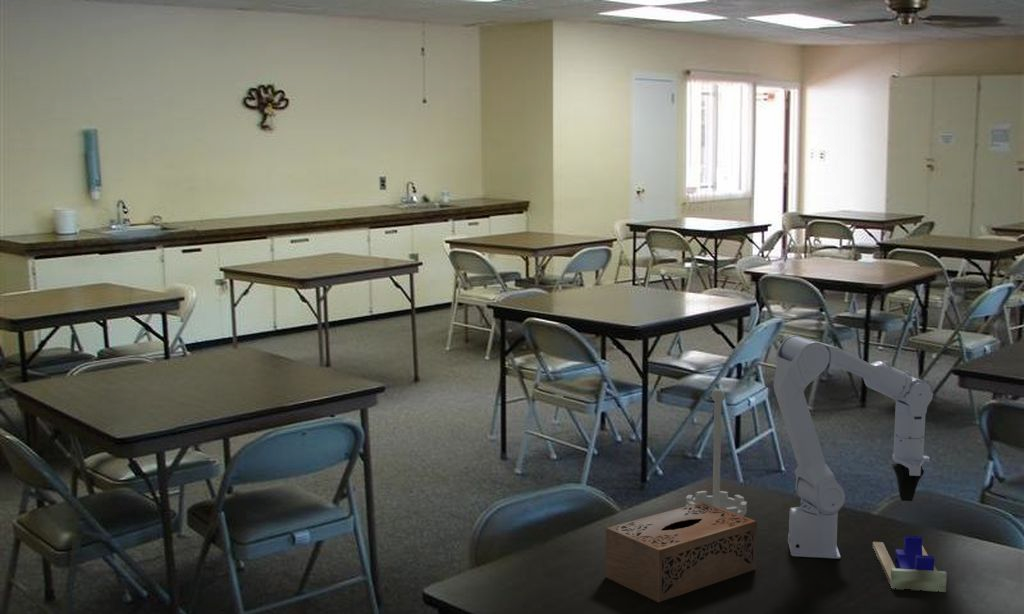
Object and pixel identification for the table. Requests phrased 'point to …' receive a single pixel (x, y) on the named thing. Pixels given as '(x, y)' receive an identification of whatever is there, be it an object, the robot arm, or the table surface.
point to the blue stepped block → (913, 555)
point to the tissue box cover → (680, 550)
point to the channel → (910, 573)
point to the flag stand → (718, 470)
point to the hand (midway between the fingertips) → (906, 499)
